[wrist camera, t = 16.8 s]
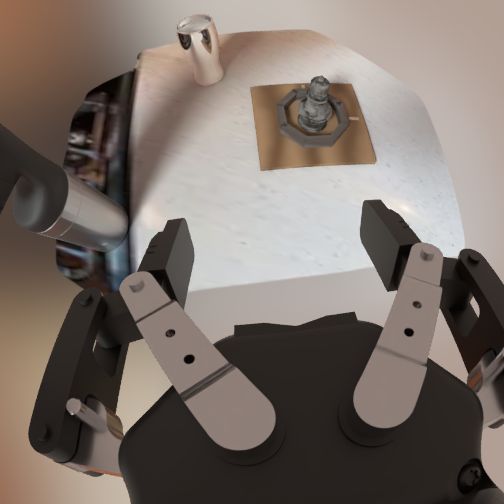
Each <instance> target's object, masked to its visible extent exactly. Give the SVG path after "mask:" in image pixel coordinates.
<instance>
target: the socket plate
mask: <svg viewBox="0 0 504 504" xmlns="http://www.w3.org/2000/svg"><path fill="white" fill-rule="evenodd" d="M309 88H310V84H284V85H269V86H258V87H250V89H251V96H252V104H253V112H254V120H255V127H256V135H257V144H258V152H259V160H260V168H261V171H264V170H274V169H285V168H298V167H312V166H329V165H352V164H375V162H376V159H375V155H374V152H373V148H372V145H371V141H370V138H369V135H368V132H367V128H366V125H365V122H364V119H363V116H362V113H361V110H360V107H359V105H358V102H357V99H356V96H355V93H354V91H353V88H352V86H351V84H332V83H330V87H329V91H328V94H329V100H328V101H327V102H328V103H329V104H330V106H331V108H332V115H331V117H330V119H328V120H327V126H326V127H325V129H323V130H322V131H320V132H309V131H306V130H304V129H303V128H302V127H301V126H300V125H299V123H298V115H299V112H298V109H297V106H298V103H299V101H300V100H301V99H303V98H305V97H307V95H306V93H307V90H308V89H309Z"/></svg>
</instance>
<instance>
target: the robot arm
mask: <svg viewBox="0 0 504 504" xmlns="http://www.w3.org/2000/svg"><path fill="white" fill-rule="evenodd" d="M15 184H16V187H15V192H14V198H13V212H14V216H15V219H16V221H17V223H18V224H19V225H20V226H21V227H22V228H23V229H26V230H28V231H31V232H35V233H39V234H42V235H45V236H49V237H53V238H56V239H59V240H62V241H66V242H69V243H73V244H76V245H80V246H83V247H87V248H90V249H94V250H97V251H102V252H108V251H111V250H114V249H115V248H117V247H118V246H119V245H120V244H121V243H122V241H123V240H124V238H125V236H126V234H127V230H128V215H127V212H126V210H125V209H124V208H123V206H122V205H120V204H119V203H117V202H115V201H114V200H112V199H111V198H109V197H108V196H106V195H104V194H103V193H101V192H100V191H98V190H96V189H95V188H93V187H92V186H90V185H88V184H87V183H85V182H84V181H82V180H81V179H79V178H77V177H76V176H74V175H72V174H71V173H69V172H68V171H66V170H65V169H63V168H61V167H60V166H58V165H57V164H55V163H53V162H52V161H50V160H49V159H47V158H45V157H44V156H42V155H41V154H39V153H38V152H36V151H34V150H33V149H32V148H31V147H29V146H28V145H27V144H25V143H24V142H23V141H22V140H20V139H19V138H18V137H17V136H15V135H14V134H13V133H12V132H11V131H10V130H8V129H7V128H6V127H4V126H3V125H2V124H0V214H1V212H2V210H3V207H4V205H5V203H6V201H7V199H8V197H9V195H10V194H11V191H12V190H13V187H14V186H15ZM360 238H361V242H362V244H363V246H364V247H365V249H366V251H367V253H368V255H369V257H370V259H371V260H372V262H373V264H374V266H375V268H376V270H377V272H378V274H379V276H380V278H381V280H382V282H383V284H384V286H385V288H386V290H387V291H388V292H389V291H395V290H397V294H396V297H395V300H394V302H393V305H392V308H391V310H390V313H389V316H388V318H387V321H386V323H385V326H384V328H383V327H381V326H379V325H377V324H374V323H370V322H365V321H359V320H357V317H356V314H355V312H349V313H343V314H336V315H329V316H325V317H322V318H319V319H316V320H313V321H310V322H308V323H305V324H302V325H298V326H290V325H280V324H270V323H258V324H246V325H235V326H234V335H231V336H228V337H225V338H223V339H221V340H219V341H217V342H216V343H214V344H212V343H211V342H210V341H209V340H208V339H207V338H206V336H205V335H204V334H203V333H202V332H201V331H200V329H199V328H198V327H197V326H196V325H195V324H194V322H193V321H192V320H191V319H190V317H189V316H188V315H187V314H186V313H185V312H184V305H185V301H186V296H187V291H188V286H189V281H190V276H191V272H192V267H193V263H194V248H193V244H192V240H191V237H190V233H189V229H188V226H187V222H186V220H185V218H180V219H173V220H168V221H167V223H166V226H165V228H164V230H163V232H158V233H157V234H156V235H155V236H154V237H153V238H152V239H151V241H150V243H149V246H148V248H147V250H146V252H145V253H146V254H145V255H144V257H143V259H142V262H141V264H140V266H139V269H138V271H137V272H136V273H133V274H131V275H129V276H128V277H127V278H125V279H124V280H123V282H122V283H121V285H120V290H118V291H116V292H113V293H109V294H106V295H103V294H102V293H101V291H100V290H99V289H98V288H96V287H90V288H87V289H84V290H83V291H81V292H80V293H79V294H78V295H77V296H76V297H75V298H74V300H73V302H72V304H71V306H70V309H69V311H68V313H67V315H66V318H65V320H64V322H63V325H62V327H61V329H60V332H59V335H58V337H57V339H56V342H55V345H54V347H53V350H52V353H51V356H50V358H49V361H48V364H47V367H46V370H45V373H44V376H43V379H42V382H41V385H40V389H39V392H38V395H37V399H36V402H35V406H34V410H33V414H32V418H31V422H30V426H29V433H28V435H29V441H30V444H31V445H32V447H33V448H34V450H36V451H37V452H39V453H40V454H42V455H44V456H46V457H48V458H50V459H52V460H53V461H55V462H56V463H59V464H61V465H63V466H65V467H68V468H70V469H72V470H75V471H77V472H82V473H85V474H87V475H90V476H93V477H98V476H101V475H103V474H108V475H112V476H117V477H123V479H124V482H125V484H126V487H127V490H128V493H129V497H130V501H131V504H504V493H503V492H502V491H501V490H500V489H499V488H498V487H497V486H496V485H495V484H494V483H493V481H492V480H491V479H490V478H489V476H488V475H487V473H486V472H485V470H484V468H483V465H482V461H481V437H482V430H483V429H484V428H486V427H490V428H498V427H500V426H502V425H503V424H504V284H503V283H502V281H501V280H500V279H499V277H498V276H497V274H496V273H495V271H494V270H493V269H492V267H491V266H490V265H489V263H488V262H487V260H486V259H485V258H484V257H483V256H482V255H481V254H480V253H479V252H477V251H475V250H472V249H463V250H461V251H460V253H459V256H458V259H455V258H447V257H443V254H442V252H441V251H440V250H439V249H438V248H437V247H435V246H433V245H431V244H428V243H422V242H421V241H420V239H419V238H418V237H417V236H416V234H415V233H414V232H413V230H412V229H411V228H409V226H408V224H407V223H406V222H405V221H404V219H403V218H402V217H401V216H400V215H399V214H398V213H396V212H394V211H393V210H391V209H388V208H387V207H386V206H385V204H384V203H383V202H382V201H381V200H365V201H364V202H363V206H362V217H361V226H360ZM473 296H474V298H475V300H476V301H477V303H478V305H479V308H480V315H479V318H478V317H477V315H476V313H475V311H474V309H473V308H472V306H471V304H470V301H471V299H472V297H473ZM439 308H440V309H441V311H442V313H443V315H444V317H445V319H446V322H447V324H448V326H449V328H450V330H451V333H452V335H453V337H454V340H455V342H456V344H457V347H458V349H459V352H460V354H461V356H462V359H463V362H464V364H465V367H466V369H467V372H468V377H467V384H465V383H464V382H462V381H461V380H460V379H458V378H457V377H455V376H454V375H452V374H451V373H450V372H448V371H447V370H445V369H444V368H442V367H441V366H439V365H438V364H437V363H435V362H434V361H432V360H431V359H429V358H428V355H429V351H430V347H431V343H432V339H433V335H434V330H435V325H436V321H437V317H438V311H439ZM143 338H144V339H145V341H146V343H147V344H148V346H149V348H150V349H151V351H152V353H153V354H154V356H155V358H156V359H157V361H158V362H159V364H160V365H161V367H162V369H163V370H164V372H165V374H166V375H167V376H168V378H169V380H170V381H171V383H172V384H173V385H172V386H171V387H170V388H169V389H168V390H167V391H166V392H165V393H164V394H163V395H162V396H161V397H160V398H159V400H158V401H157V402H156V403H155V404H154V405H153V406H152V407H151V408H150V409H149V410H148V411H147V412H146V413H145V414H144V415H143V416H142V417H141V418H140V419H139V420H138V421H137V422H136V423H135V424H134V425H133V426H132V427H131V428H130V429H129V430H128V431H127V432H126V434H125V436H124V434H123V426H122V422H121V420H120V418H119V417H118V416H117V415H116V408H117V402H118V396H119V390H120V385H121V380H122V374H123V369H124V365H125V360H126V355H127V351H128V346H129V343H130V342H133V341H136V340H140V339H143ZM95 340H96V341H97V342H96V345H95V348H94V352H93V346H94V343H95Z"/></svg>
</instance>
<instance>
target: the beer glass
mask: <svg viewBox="0 0 504 504" xmlns="http://www.w3.org/2000/svg"><path fill="white" fill-rule="evenodd" d="M175 30H176V32H177V37H178V41H179V44H180V47H181V49H182V51H183V53H184V55H185V56H186V58H187V59H188V61H189V62H190V64H191V65H192V67H193V70H194V78H195V81H196V82H197V83H198V84H200V85H203V86H208V85H213V84H215V83H217V82H219V81H220V80H221V79H222V78H223V75H224V72H223V69H222V67H221V65H220V63H219V39H218V34H217V30H216V27H215V24H214V22H213V18H212V17H211V16H209V15H206V14H196V15H192V16H189V17H186V18H184V19H182V20H181V21H180V22H178V24H177V25H176V27H175Z"/></svg>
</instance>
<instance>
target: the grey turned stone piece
mask: <svg viewBox="0 0 504 504" xmlns="http://www.w3.org/2000/svg"><path fill="white" fill-rule="evenodd" d="M329 87H330V83H329V81H328V80H327V79H326V78H324V77H323V76H317V77H314V78H313V79H312V80H311V84H310V88H309V89H308V90H307V93H306V95H307V97H305V98H303V99H301V100H300V101H299V103H298V106H297V109H298V112H299V115H298V123H299V125H300V126H301V127H302V128H303V129H304V130H306V131H309V132H320V131H322V130H323V129H325V127H326V126H327V120H328V119H330V117H331V115H332V108H331V106H330V104H329V103H328V102H327V101H328V100H329V94H328V91H329Z"/></svg>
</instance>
